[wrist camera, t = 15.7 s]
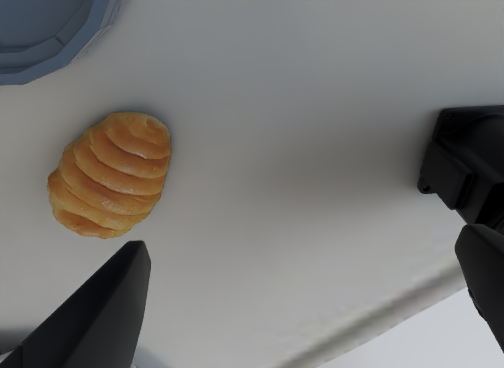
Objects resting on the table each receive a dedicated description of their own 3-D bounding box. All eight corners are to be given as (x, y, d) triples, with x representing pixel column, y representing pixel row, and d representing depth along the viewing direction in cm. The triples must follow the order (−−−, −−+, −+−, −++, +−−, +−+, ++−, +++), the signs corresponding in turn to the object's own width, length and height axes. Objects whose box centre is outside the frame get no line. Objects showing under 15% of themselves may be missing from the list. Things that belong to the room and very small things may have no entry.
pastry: (104, 78, 19) (78, 103, 16) (200, 139, 22) (194, 170, 19) (51, 182, 23) (22, 217, 20) (137, 223, 26) (123, 260, 23)
